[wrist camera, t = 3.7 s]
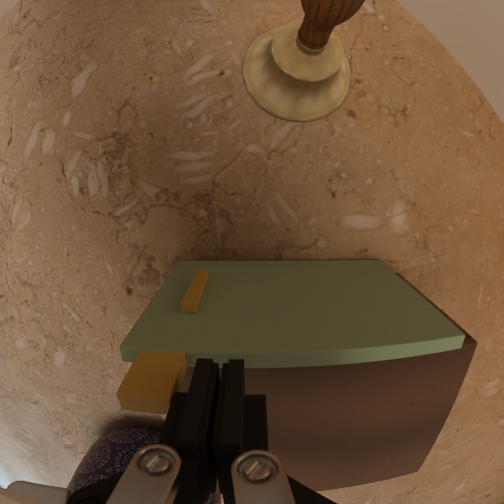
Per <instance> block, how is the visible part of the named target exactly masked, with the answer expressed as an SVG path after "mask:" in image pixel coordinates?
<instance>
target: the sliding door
mask: <svg viewBox="0 0 504 504" xmlns="http://www.w3.org/2000/svg"><path fill="white" fill-rule="evenodd" d="M464 339H465V334H464V333H463V332H462V331H460V330H459V329H458V328H457V327H456V326H455V325H454V324H453V323H452V322H451V321H449V320H448V319H447V318H446V317H445V316H444V315H443V314H442V313H441V312H439V311H438V310H437V309H436V308H435V307H434V306H433V305H431V304H430V303H429V302H428V301H427V300H426V299H425V298H423V297H422V296H421V295H420V294H419V293H418V292H416V291H415V290H414V289H413V288H412V287H411V286H409V285H408V284H407V283H406V282H405V281H403V280H402V279H401V278H400V277H399V276H397V275H396V274H395V273H394V272H393V271H391V270H390V269H389V268H388V267H386V266H385V265H384V264H383V263H382V262H380V261H379V260H301V261H179V262H178V264H177V265H176V267H175V268H174V269H173V271H172V272H171V273H170V275H169V276H168V278H167V279H166V280H165V282H164V283H163V285H162V286H161V287H160V289H159V290H158V292H157V293H156V294H155V296H154V297H153V299H152V300H151V302H150V303H149V304H148V306H147V307H146V309H145V310H144V312H143V313H142V315H141V316H140V317H139V319H138V320H137V322H136V323H135V325H134V326H133V328H132V329H131V331H130V332H129V334H128V335H127V336H126V338H125V339H124V341H123V342H122V344H121V345H120V352H121V356H122V360H123V361H125V362H133V363H132V365H131V367H130V369H129V371H128V373H127V374H126V376H125V378H124V380H123V382H122V384H121V385H120V387H119V389H118V391H117V397H118V400H119V403H120V406H121V408H122V409H128V410H135V411H142V412H150V413H159V414H167V413H168V410H169V407H170V404H171V401H172V397H173V395H174V393H175V392H180V389H181V386H182V382H183V379H184V375H185V372H186V369H187V366H189V367H195V364H196V360H197V358H207V359H213V363H219V368H222V365H223V363H228V361H229V359H244V367H245V368H285V367H310V366H327V365H341V364H353V363H363V362H373V361H382V360H391V359H398V358H406V357H413V356H420V355H426V354H432V353H438V352H444V351H450V350H455V349H460V348H462V345H463V342H464Z"/></svg>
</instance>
